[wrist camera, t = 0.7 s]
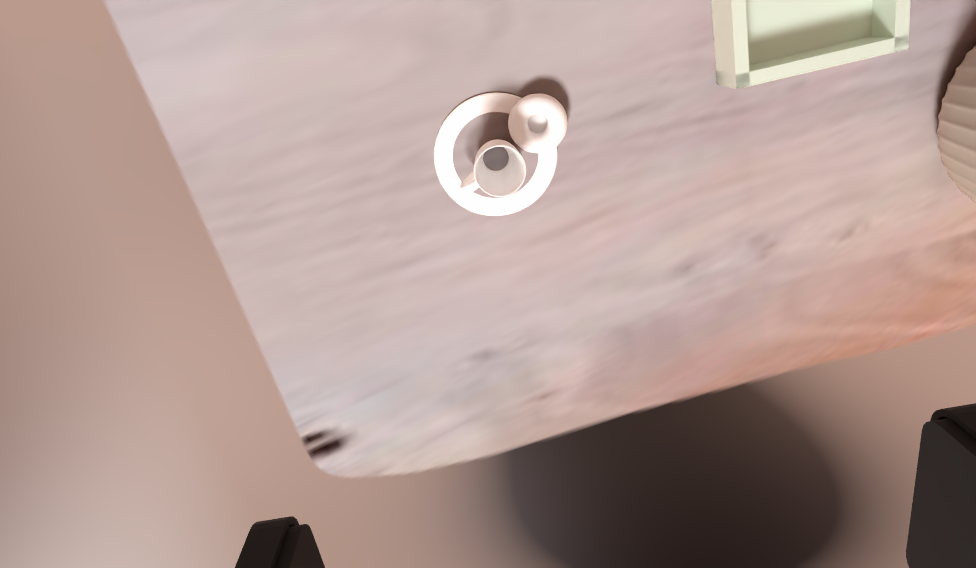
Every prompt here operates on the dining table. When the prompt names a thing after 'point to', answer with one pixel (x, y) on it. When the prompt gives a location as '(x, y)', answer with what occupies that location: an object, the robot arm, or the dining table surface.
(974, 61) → the canister
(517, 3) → the dining table surface
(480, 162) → the teacup and saucer
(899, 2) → the tray
